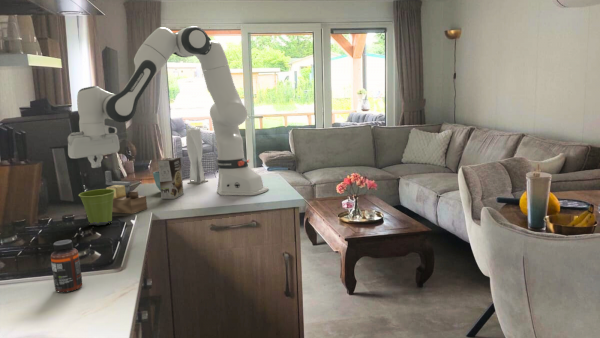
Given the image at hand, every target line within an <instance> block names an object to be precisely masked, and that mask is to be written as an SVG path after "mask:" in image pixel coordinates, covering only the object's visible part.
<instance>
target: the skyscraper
mask: <svg viewBox="0 0 600 338" xmlns="http://www.w3.org/2000/svg"><path fill="white" fill-rule="evenodd" d="M185 127H186V128H185V132H186V134H185V135H186V138H185V139H186V141H185V142H186V151H187V156H188V160H189V163H190V167H189V169H190V170H189V181H188V182H187V184H188V185H201V184H204V183H207V182H209V180H207V179H205V172H204V168H203V164H202V159H203V152H204V151H203V150H204V149H203V145H204V144H203V139H202V137H203V136H202V132H201V131H202V130H201V128H200V127H199V126H197V127H196V126H191V127H189V125H188V123H186V124H185ZM191 180H194V181H191Z"/></svg>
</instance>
